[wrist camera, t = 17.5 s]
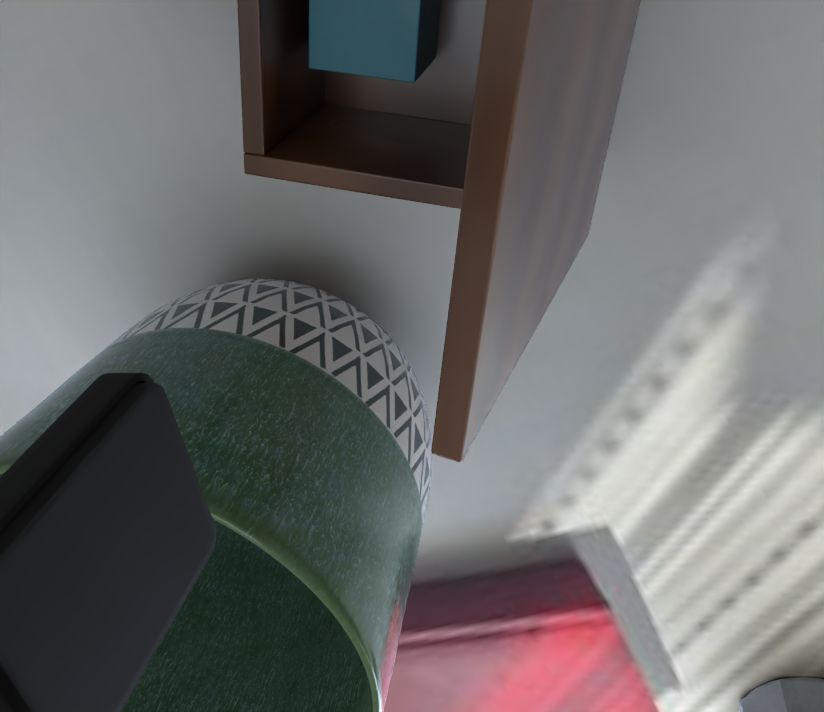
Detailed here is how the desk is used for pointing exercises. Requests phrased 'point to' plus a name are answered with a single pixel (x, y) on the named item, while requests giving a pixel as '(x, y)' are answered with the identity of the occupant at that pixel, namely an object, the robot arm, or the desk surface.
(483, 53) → the lid
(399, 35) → the block
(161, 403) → the robot arm
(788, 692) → the coffeepot
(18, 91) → the desk surface
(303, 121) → the chest
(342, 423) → the planter
